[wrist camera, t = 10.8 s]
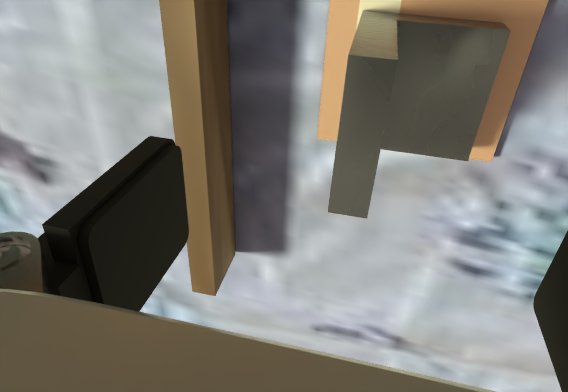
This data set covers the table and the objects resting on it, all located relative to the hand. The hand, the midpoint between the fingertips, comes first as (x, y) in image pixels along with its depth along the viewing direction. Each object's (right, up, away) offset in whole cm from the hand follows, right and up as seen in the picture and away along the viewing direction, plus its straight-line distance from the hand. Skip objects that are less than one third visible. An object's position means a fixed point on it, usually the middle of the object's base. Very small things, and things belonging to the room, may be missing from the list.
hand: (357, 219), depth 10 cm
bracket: (+5, +6, +10) cm, 13 cm away
